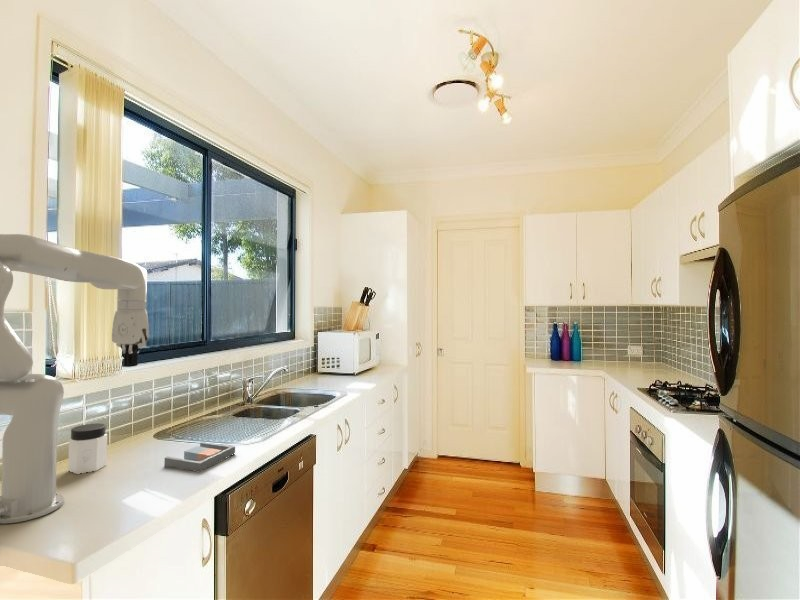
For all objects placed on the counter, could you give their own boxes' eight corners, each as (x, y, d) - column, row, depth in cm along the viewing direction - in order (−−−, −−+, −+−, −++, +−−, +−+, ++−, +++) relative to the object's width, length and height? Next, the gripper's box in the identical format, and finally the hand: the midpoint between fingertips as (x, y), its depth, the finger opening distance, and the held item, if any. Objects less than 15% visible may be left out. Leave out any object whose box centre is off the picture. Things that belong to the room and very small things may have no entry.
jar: (66, 476, 115) (67, 433, 115) (69, 466, 122) (70, 426, 122) (105, 469, 120) (106, 428, 120) (107, 460, 127) (108, 421, 127)
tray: (199, 472, 119) (199, 463, 119) (164, 466, 123) (164, 457, 123) (234, 454, 134) (235, 446, 134) (202, 449, 137) (202, 442, 137)
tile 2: (210, 465, 125) (210, 455, 125) (196, 463, 126) (197, 453, 126) (221, 459, 129) (222, 450, 130) (209, 457, 131) (209, 448, 131)
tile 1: (196, 463, 126) (197, 453, 126) (183, 461, 128) (184, 451, 128) (209, 457, 131) (209, 448, 131) (196, 455, 133) (196, 446, 133)
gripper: (102, 306, 126) (100, 366, 126) (139, 307, 121) (138, 369, 121) (125, 306, 133) (123, 363, 133) (161, 307, 129) (160, 366, 128)
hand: (130, 366), depth 127 cm, fingers closed
